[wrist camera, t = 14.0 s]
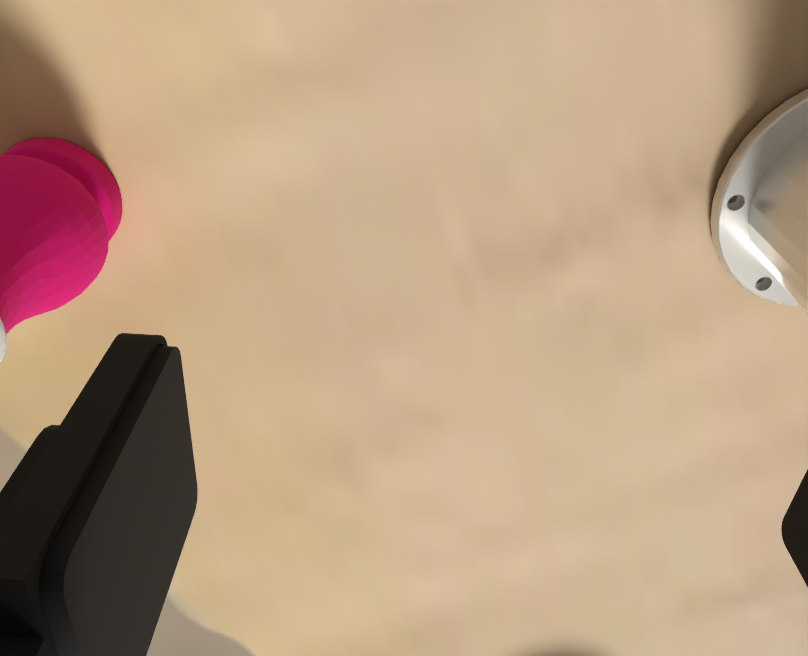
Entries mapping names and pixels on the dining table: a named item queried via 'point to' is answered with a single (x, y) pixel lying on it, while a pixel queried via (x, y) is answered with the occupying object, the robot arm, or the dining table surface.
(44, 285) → the pepper mill
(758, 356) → the dining table surface
